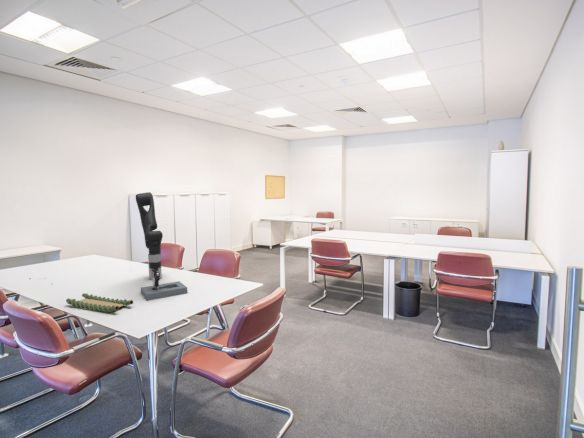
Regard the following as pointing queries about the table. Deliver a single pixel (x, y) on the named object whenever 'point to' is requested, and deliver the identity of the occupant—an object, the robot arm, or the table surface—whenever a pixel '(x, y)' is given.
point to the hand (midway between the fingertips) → (156, 285)
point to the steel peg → (154, 285)
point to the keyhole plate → (163, 290)
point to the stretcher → (98, 303)
